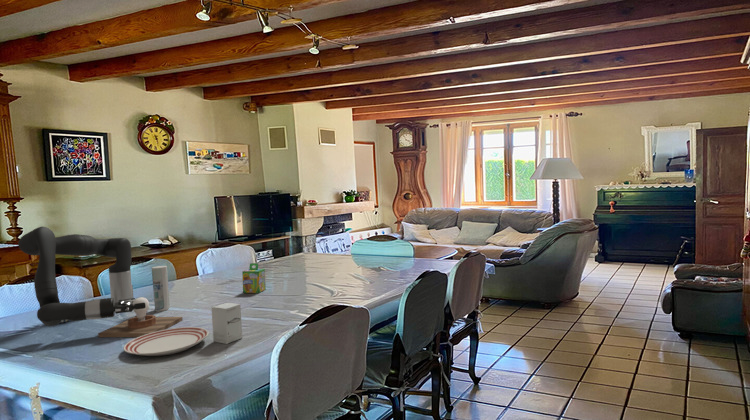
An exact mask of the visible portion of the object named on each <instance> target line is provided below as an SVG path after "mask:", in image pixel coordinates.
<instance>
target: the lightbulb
mask: <svg viewBox="0 0 750 420" xmlns="http://www.w3.org/2000/svg"><path fill="white" fill-rule="evenodd" d="M136 303H145V306H146V307H145V308H144V309H136V310H134V311H133V313H135V314H136V317H137V318H138V321H144V320H145V316H146V315H147V312H148V310H149V309H150V302H149V300H148V299H147V298H146V297H142V296H141V297H137V298H135V300H134V301H133V303H132V304H134V305H135V304H136Z"/></svg>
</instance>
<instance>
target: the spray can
mask: <svg viewBox="0 0 750 420" xmlns="http://www.w3.org/2000/svg"><path fill="white" fill-rule="evenodd" d="M168 274H169V273H168V266H167V265H157V266H152V267H151V276H152V277H151V278H152V288H153V291H152V292H153V301H154V303H153V304H154V311H155V312H164V311H165V310H166V311H168V309H169V308H171V307H170V296H169V295H170V293H169V292H170V291H169V279H168V278H169V276H168ZM169 310H170V309H169Z"/></svg>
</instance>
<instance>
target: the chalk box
mask: <svg viewBox="0 0 750 420" xmlns="http://www.w3.org/2000/svg"><path fill="white" fill-rule="evenodd" d="M253 266H255V267H253ZM241 273H242V294H260V293H262V292H264V291H265V290H267V289H266V269H265V268H259V263H258V262H257V263H256V262H254V263H253V262H252V263H249V267H248V269H245V270H242V272H241Z"/></svg>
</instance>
